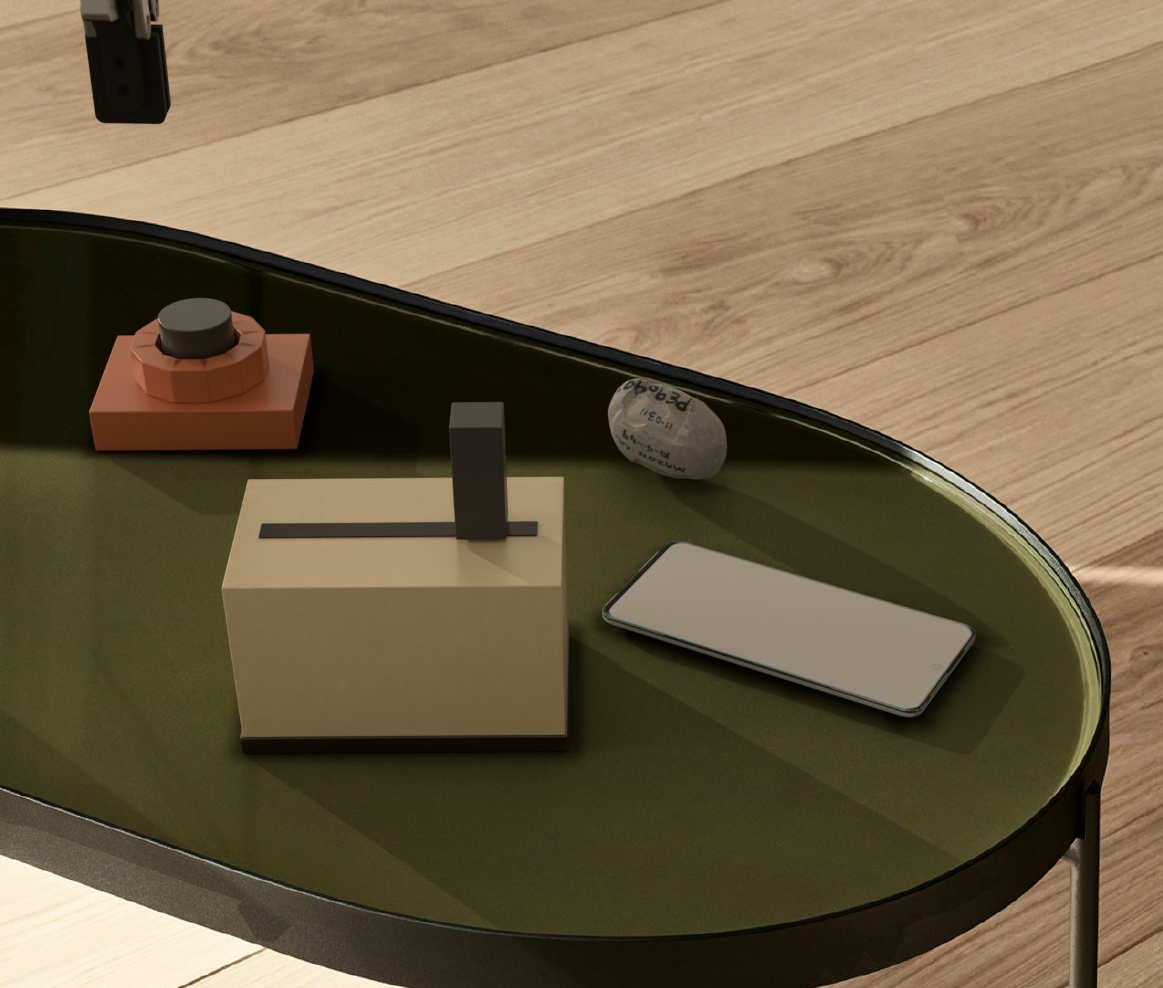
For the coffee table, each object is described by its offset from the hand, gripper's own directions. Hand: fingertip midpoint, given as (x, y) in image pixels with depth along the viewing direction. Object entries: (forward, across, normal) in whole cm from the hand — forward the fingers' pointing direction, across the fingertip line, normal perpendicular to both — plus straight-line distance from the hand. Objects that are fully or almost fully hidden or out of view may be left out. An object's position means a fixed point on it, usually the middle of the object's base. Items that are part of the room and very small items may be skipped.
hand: (134, 116), depth 97 cm
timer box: (+16, -1, +2) cm, 16 cm away
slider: (+7, +23, +17) cm, 30 cm away
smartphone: (+15, +19, +30) cm, 38 cm away
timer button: (+12, -1, +2) cm, 12 cm away
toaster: (+16, +23, +14) cm, 31 cm away
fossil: (+15, +6, +25) cm, 30 cm away
